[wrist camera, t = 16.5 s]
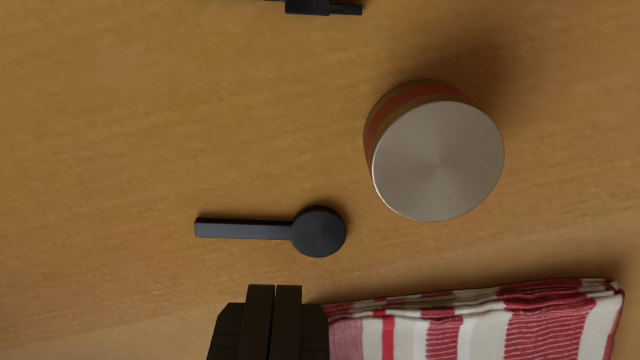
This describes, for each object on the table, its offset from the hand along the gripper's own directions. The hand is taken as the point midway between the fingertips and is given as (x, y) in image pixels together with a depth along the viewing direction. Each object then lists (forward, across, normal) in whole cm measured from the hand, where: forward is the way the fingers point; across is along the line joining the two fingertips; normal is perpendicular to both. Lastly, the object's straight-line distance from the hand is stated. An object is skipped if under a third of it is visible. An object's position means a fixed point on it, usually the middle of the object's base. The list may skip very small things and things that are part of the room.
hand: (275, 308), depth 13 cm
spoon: (+16, +1, +8) cm, 18 cm away
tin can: (+16, -8, 0) cm, 18 cm away
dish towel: (+16, -14, +20) cm, 29 cm away
